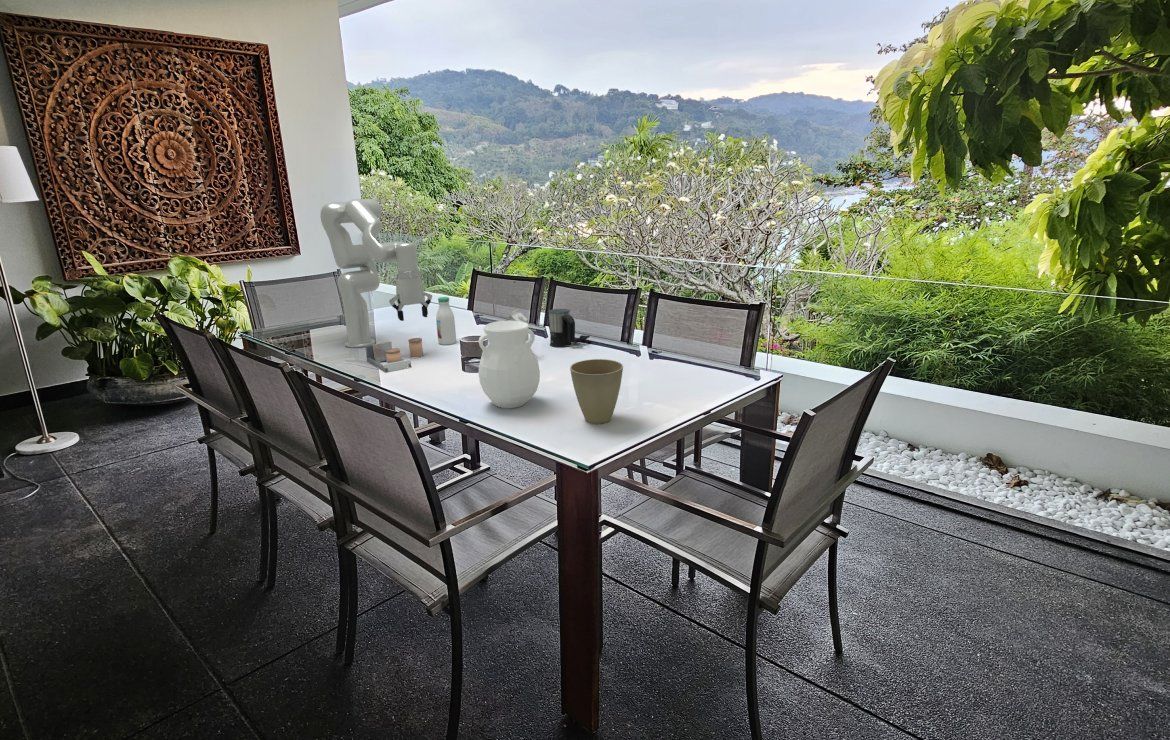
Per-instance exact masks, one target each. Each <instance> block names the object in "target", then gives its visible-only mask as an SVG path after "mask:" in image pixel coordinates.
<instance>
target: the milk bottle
mask: <svg viewBox="0 0 1170 740" xmlns="http://www.w3.org/2000/svg"><path fill="white" fill-rule="evenodd" d="M437 302H438V310H437V312H436V331H437V334H436V335H437V342H438V345H444V346H446V345H454V344H456V343H457V331H456V321H455V314H454V312H453V311H452V308H451V307H450V297H448V296H439V297H438V298H437Z"/></svg>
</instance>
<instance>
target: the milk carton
mask: <svg viewBox="0 0 1170 740" xmlns="http://www.w3.org/2000/svg"><path fill="white" fill-rule="evenodd" d="M509 314H510V315H509V316H507V318H506V319H504V321H521V322H525V323H527V324H528V325H529V322H528V321H529V319H528V318H527V317H526V316H524V314H523V313H522V312H521V311H520V308H518V309H516V310H513V311H510V313H509ZM529 338H530V336H529V333H528V334H527V336H526V338H525V339H524V342H526V341H528V339H529Z"/></svg>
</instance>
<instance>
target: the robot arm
mask: <svg viewBox="0 0 1170 740" xmlns="http://www.w3.org/2000/svg"><path fill="white" fill-rule="evenodd" d="M382 214H383V209H382V206H381V204H380V203H379V202H378V200H376V199H374V198H355V199H351V200H349V201H339V202H338V201H337V202H336V201H335V202H329V203H326V204H324V205H323V206H322V207H321V209H320V217H319V218H320V222H321V226H322V228H323V230H324V231H325V233H326V235H327V237H328V241H329V244H330V248H331V251H332V252H331V253H332V255H333V259H334V261H335V264H336V266H337V267H338V268H339V269H343V270H349V269H357V268H359V270H353V271H352V270H351V271H346V272H343V273H341V274H340V275H339V276H338V277H337V287H338V290H339V293H340V296H341V299H342V306H343V312H344V320H345V326H346V327H345V328H346V334H347V335H346V336H347V341H345V342H344V346H345V347H346V346H347V347H346V348H366V346H372V345H373V344H376V340H375V339H374V338H372V336H371V329H370V328H371V327H370V320H369V319H370V318H369V310H368V305H367V301H366V300H365V298H364V297H363V296H362V294H364V293H367V292H368V293H369V292H373V291H376V290H378V289H379V287H380V277H379V276H380V275H379V272H378V269H377V266H376V265H377V264H376V262H377V263H379V264H383V263H384V264H385V263H391V262H396V264H397V265H396V267H397V273H398V274H397V275H398V279H396V283H395V284H396V285H395V288H396V289H395V292H396V293H395V295H394V296H393V297H392V298H391V299H389V300H388V302H389V303H390V305H391V307H392V308H393V309H395V310H396V312H397V319H399V321H401V322H403V321H405V320H404V311H403V310H402V309H403V308H404V306H410V305H411V306H412V305H417V304H420V305H421V311H422V312H421V314H422V317H423V318H428V315H429V311H428V307H429V305H430V303H431V302H432V299H433V295H432V294H431V293H428V292H425V289H424V286H423V282H422V279H421V277H420V275H422V274H423V273H422V271H421V270H419V267H418V258H417V249H416V248H417V247H416V244H415V243H414V242H404V241H388V242H378V241H377V240H376V239H375V237H376V236H378V235H379V234H380V233H381V231H382V230H383V222H382V221H381V217H382ZM341 224H354V225H355V226H356V228H357V229H358V230H359V231H360V232H361V233H362V236H361V237H362V238H361V239H362V244H354V243H353V242H352V238H351V234H350V233H349V232H348V230H347V229H346V228H345V227H344V226H343V225H341ZM426 297H427V299H426ZM396 302H397V304H396Z"/></svg>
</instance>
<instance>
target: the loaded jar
mask: <svg viewBox="0 0 1170 740" xmlns="http://www.w3.org/2000/svg"><path fill="white" fill-rule="evenodd" d="M385 351H386V356H387V360H386V364H387V363H393V362H398V361H401V348H400V347H399V348H398V347H395V348H394V347H392V348H391V349H387V350H385Z"/></svg>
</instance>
